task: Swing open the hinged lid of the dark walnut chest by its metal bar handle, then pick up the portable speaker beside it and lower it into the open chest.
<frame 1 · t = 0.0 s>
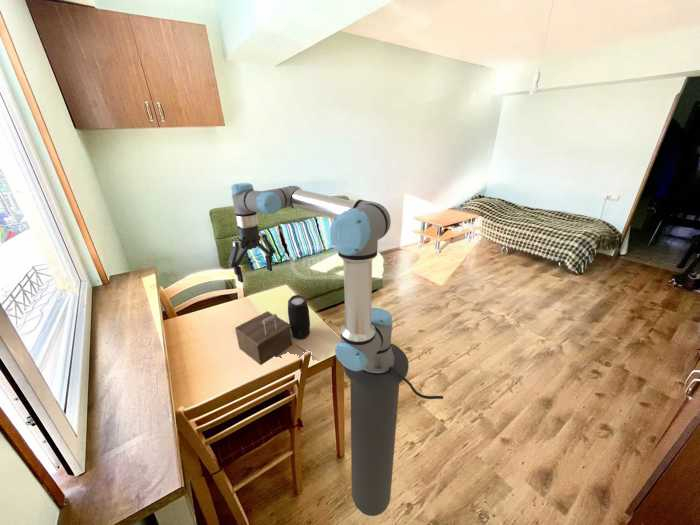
hand: (255, 275, 114), 31 cm above the table, tool pointing down, fingers open, 13 cm apart
chest: (265, 346, 121), on the table
portable speaker: (301, 334, 128), on the table
lid: (262, 320, 115), point 14 cm above the table, hinge at 0.0°
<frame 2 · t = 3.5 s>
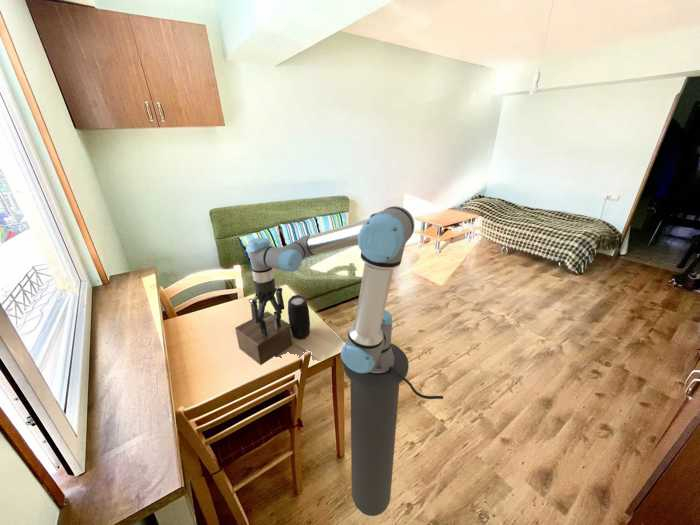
hand: (271, 330, 113), 12 cm above the table, tool pointing down, fingers closed on lid, 6 cm apart
lid: (262, 320, 115), point 14 cm above the table, hinge at 0.0°, touching gripper
everything else where it was.
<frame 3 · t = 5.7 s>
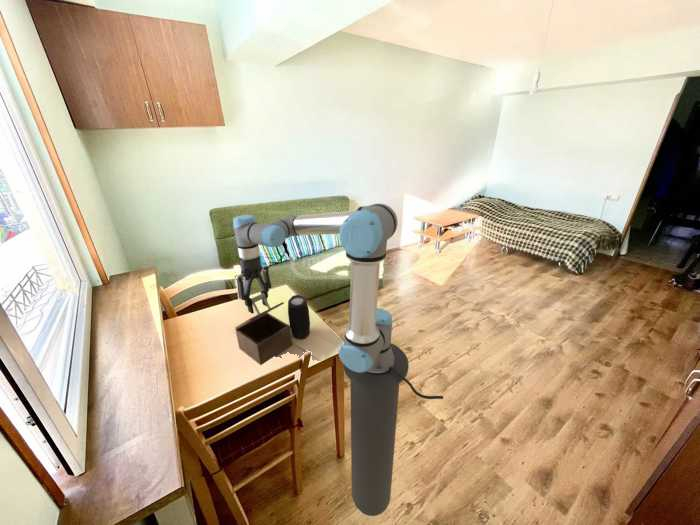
hand: (258, 308, 114), 19 cm above the table, tool pointing down, fingers closed on lid, 6 cm apart
lid: (255, 308, 116), point 18 cm above the table, hinge at 36.7°, touching gripper
everything else where it was.
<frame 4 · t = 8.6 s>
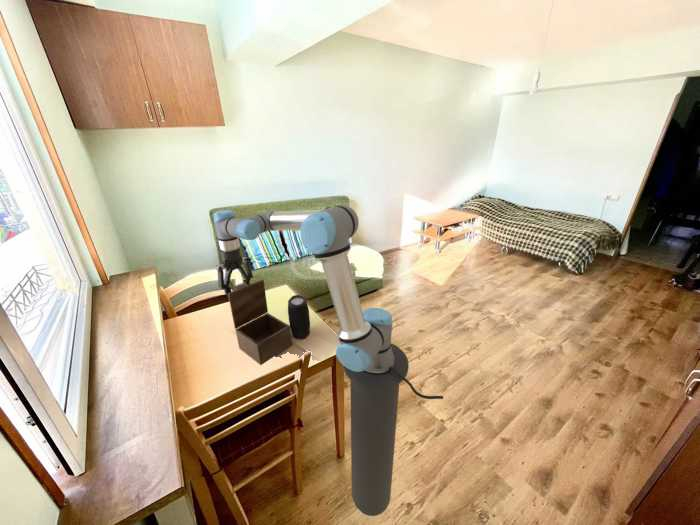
hand: (239, 297, 123), 19 cm above the table, tool pointing down, fingers open, 7 cm apart
lid: (244, 300, 120), point 19 cm above the table, hinge at 88.6°
everything else where it was.
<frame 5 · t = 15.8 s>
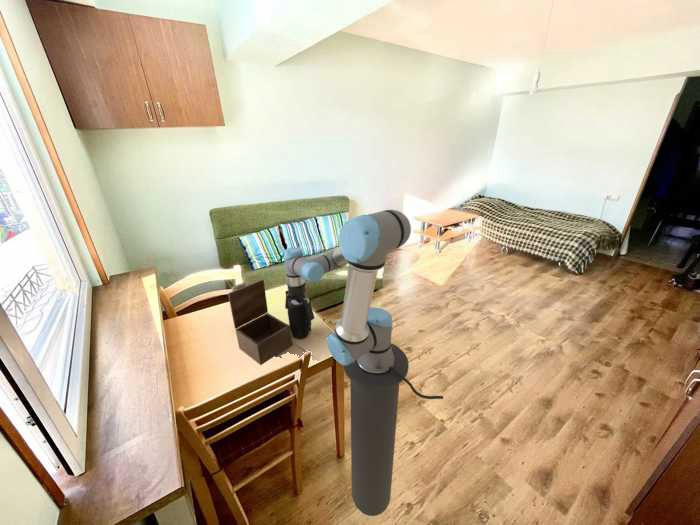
hand: (300, 327, 126), 5 cm above the table, tool pointing down, fingers closed on portable speaker, 9 cm apart
portable speaker: (300, 334, 128), on the table, touching gripper
everything else where it was.
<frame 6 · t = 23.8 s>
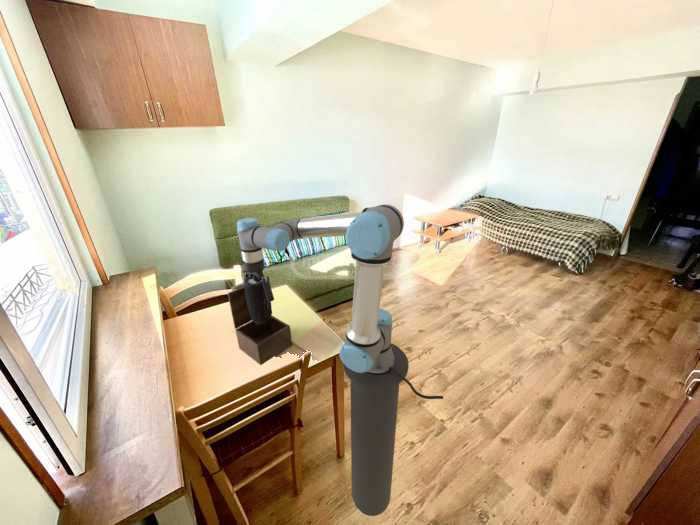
hand: (261, 310, 113), 19 cm above the table, tool pointing down, fingers closed on portable speaker, 9 cm apart
portable speaker: (262, 319, 115), point 14 cm above the table, touching gripper
lid: (244, 300, 120), point 19 cm above the table, hinge at 89.5°
when the fingers open (7 cm above the table, at t = 27.6 s): portable speaker drops 1 cm, resting on chest.
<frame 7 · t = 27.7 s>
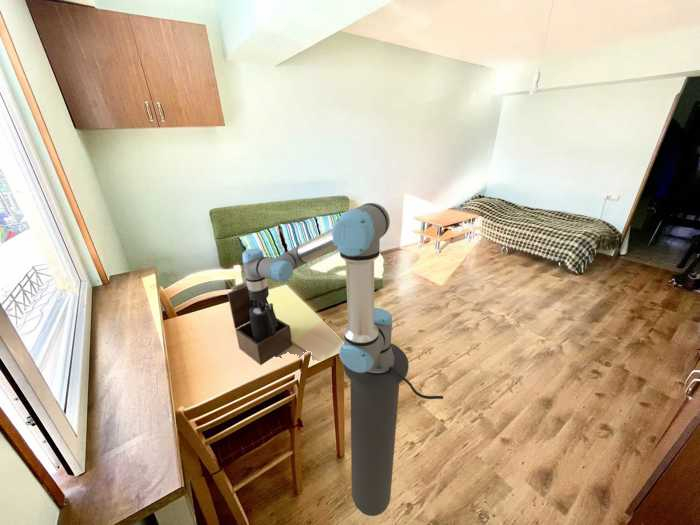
hand: (265, 334, 118), 7 cm above the table, tool pointing down, fingers open, 10 cm apart
portable speaker: (266, 345, 120), point 1 cm above the table, touching chest
lid: (244, 300, 120), point 19 cm above the table, hinge at 89.9°, touching gripper, hand
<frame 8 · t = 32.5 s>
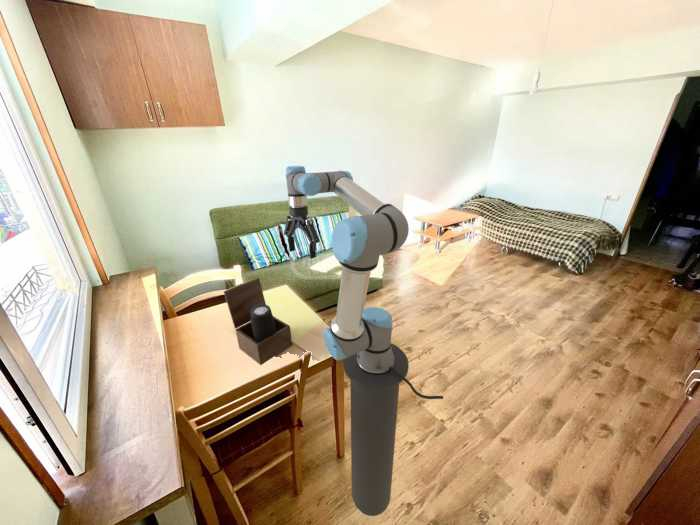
hand: (302, 254, 122), 37 cm above the table, tool pointing down, fingers open, 13 cm apart
lid: (243, 301, 122), point 18 cm above the table, hinge at 100.8°
everything else where it was.
at the end: lid at +101° (first picture: +0°); portable speaker inside the target area in the chest (1.4 cm from its centre), point 1.1 cm above the chest's base; portable speaker tilted 5° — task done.
